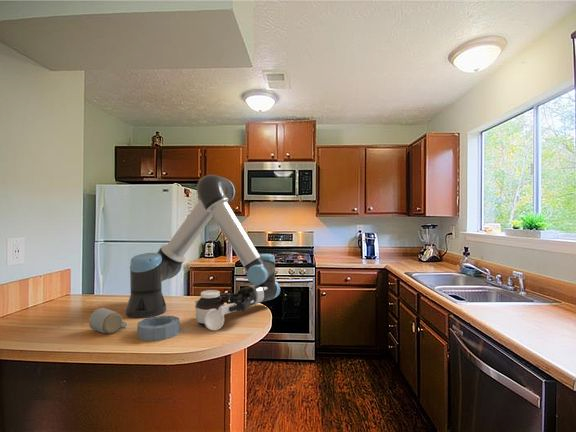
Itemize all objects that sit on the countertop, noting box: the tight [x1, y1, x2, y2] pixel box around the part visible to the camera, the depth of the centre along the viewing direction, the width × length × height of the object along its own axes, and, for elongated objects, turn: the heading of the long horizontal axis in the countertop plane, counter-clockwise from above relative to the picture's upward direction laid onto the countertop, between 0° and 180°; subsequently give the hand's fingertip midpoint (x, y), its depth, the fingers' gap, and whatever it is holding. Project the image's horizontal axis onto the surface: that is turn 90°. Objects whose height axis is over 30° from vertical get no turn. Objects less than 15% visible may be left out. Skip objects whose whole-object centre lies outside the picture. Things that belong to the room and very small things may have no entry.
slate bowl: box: [136, 315, 181, 342], centre depth 111 cm, size 13×13×4 cm
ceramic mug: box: [88, 307, 128, 335], centre depth 114 cm, size 11×8×8 cm
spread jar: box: [195, 289, 225, 331], centre depth 119 cm, size 12×11×12 cm
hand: (207, 307), depth 117 cm, fingers open, 13 cm apart
